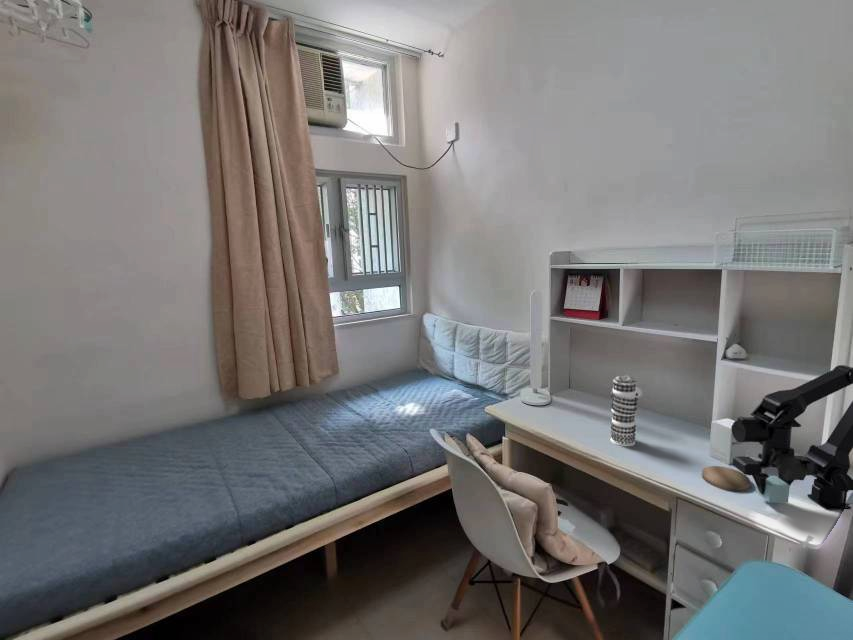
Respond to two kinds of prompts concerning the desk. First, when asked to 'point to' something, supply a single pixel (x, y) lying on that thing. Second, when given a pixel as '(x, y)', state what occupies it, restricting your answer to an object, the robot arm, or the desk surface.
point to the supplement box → (725, 442)
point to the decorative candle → (623, 411)
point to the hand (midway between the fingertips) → (771, 493)
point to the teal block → (775, 490)
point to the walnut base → (726, 478)
